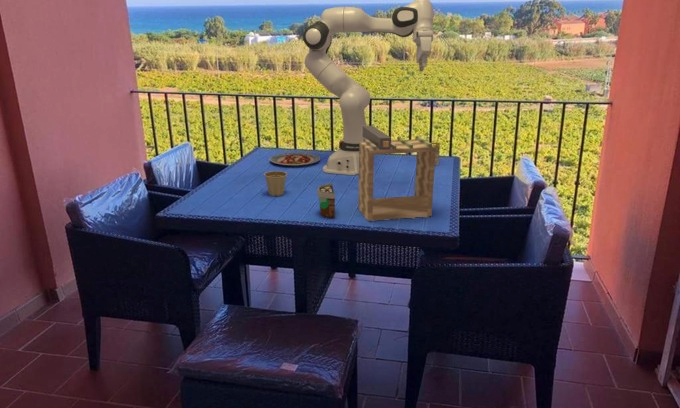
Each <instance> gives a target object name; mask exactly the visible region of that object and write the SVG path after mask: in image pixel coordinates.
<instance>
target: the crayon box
mask: <svg viewBox="0 0 680 408" xmlns="http://www.w3.org/2000/svg"><path fill="white" fill-rule="evenodd" d="M430 143H431V144H432V145H433V146H435V147H436V154H435V166H439V163H440V149H441V147H440V146H441V142H430Z"/></svg>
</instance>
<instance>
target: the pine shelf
mask: <svg viewBox="0 0 680 408" xmlns="http://www.w3.org/2000/svg"><path fill="white" fill-rule="evenodd" d="M431 143H432V142H429V141H428V140H425V139H424V138H422V137H420V136H419V135H417V136H416V135H415V138H414V139H404V138H403V137H401V136H397V139H396V140H393V139H391V149H387V150H379V149H378V148H377V146H375V145H374V144H373V143H372V142H370V141H369V140H368V139H366V138H363V142H359V174H358V204H357V205H358V207H357V208H358V211H359V212H360V211H361V212H362V213H361V212H360V213H361V215H362V216H363V215H364V216H365V217H364V216H363V217H364V219H365V220H366V219H367V220H368V221H372V220H384V219H385V221H387V220H386V219H398V220H402V219H401V218H412V219H416V218H415V217H425V218H430V217H429V216H431V217H432V213H433V200H434V197H433V195H434V182H435V171H436V170H435V168H436V167H435V166H436V165H435V154H436V147H435V146H433V145H434V144H431ZM412 153H416V160H415V161H416V163H415V179H414V180H415V182H414V184H415V185H414V195H408V196H396V197H395V196H394V197H382V198H381V197H378V198H377V197H376V198H374V174H375V173H374V171H375V170H374V169H375V168H374V167H375V166H374V165H375V163H374V162H375V155H390V154H412ZM399 218H400V219H399ZM367 220H366V221H367ZM368 221H367V222H368ZM372 222H373V221H372Z"/></svg>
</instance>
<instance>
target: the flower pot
mask: <svg viewBox="0 0 680 408" xmlns="http://www.w3.org/2000/svg"><path fill="white" fill-rule="evenodd" d="M263 176H264V177H265V180H266V187H267V192H268V195H269V196H272V197H275V196H277V197H280V196H284V193H285V186H286V185H285V183H286V179H287V177H288V172H286V171H280V170H272V171H271V170H270V171H267V172H265V173H264V174H263Z"/></svg>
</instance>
